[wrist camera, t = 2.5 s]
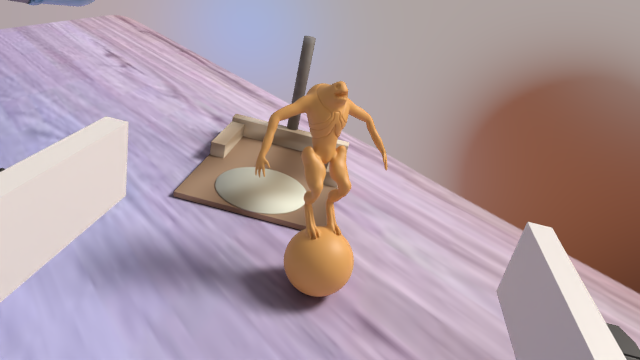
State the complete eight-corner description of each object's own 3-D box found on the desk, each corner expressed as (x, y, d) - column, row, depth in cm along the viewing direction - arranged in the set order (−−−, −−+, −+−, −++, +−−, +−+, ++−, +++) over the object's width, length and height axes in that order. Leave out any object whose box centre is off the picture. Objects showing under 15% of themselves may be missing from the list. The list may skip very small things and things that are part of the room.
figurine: (259, 326, 25) (303, 107, 20) (222, 256, 30) (249, 62, 24) (386, 297, 30) (450, 110, 24) (337, 240, 34) (382, 72, 29)
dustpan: (173, 196, 35) (185, 50, 30) (234, 131, 47) (249, 21, 43) (324, 236, 34) (360, 93, 30) (345, 159, 47) (372, 51, 42)
